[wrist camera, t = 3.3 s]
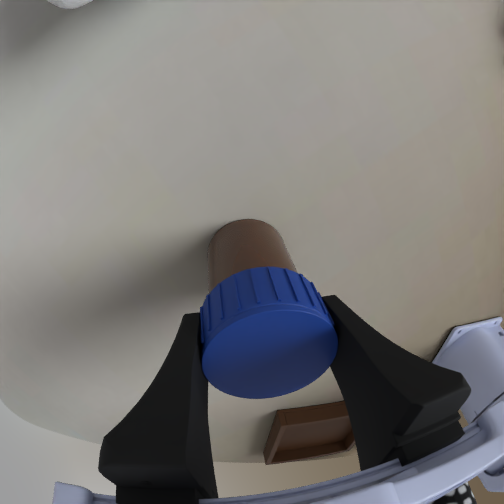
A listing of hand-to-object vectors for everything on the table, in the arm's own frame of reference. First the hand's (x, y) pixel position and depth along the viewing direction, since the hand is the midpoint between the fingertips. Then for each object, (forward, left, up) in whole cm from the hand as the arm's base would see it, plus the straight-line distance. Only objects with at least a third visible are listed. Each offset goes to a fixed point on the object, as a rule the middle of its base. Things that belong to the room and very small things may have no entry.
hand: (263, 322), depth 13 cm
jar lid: (0, 0, +2) cm, 2 cm away
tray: (-10, +23, -6) cm, 26 cm away
